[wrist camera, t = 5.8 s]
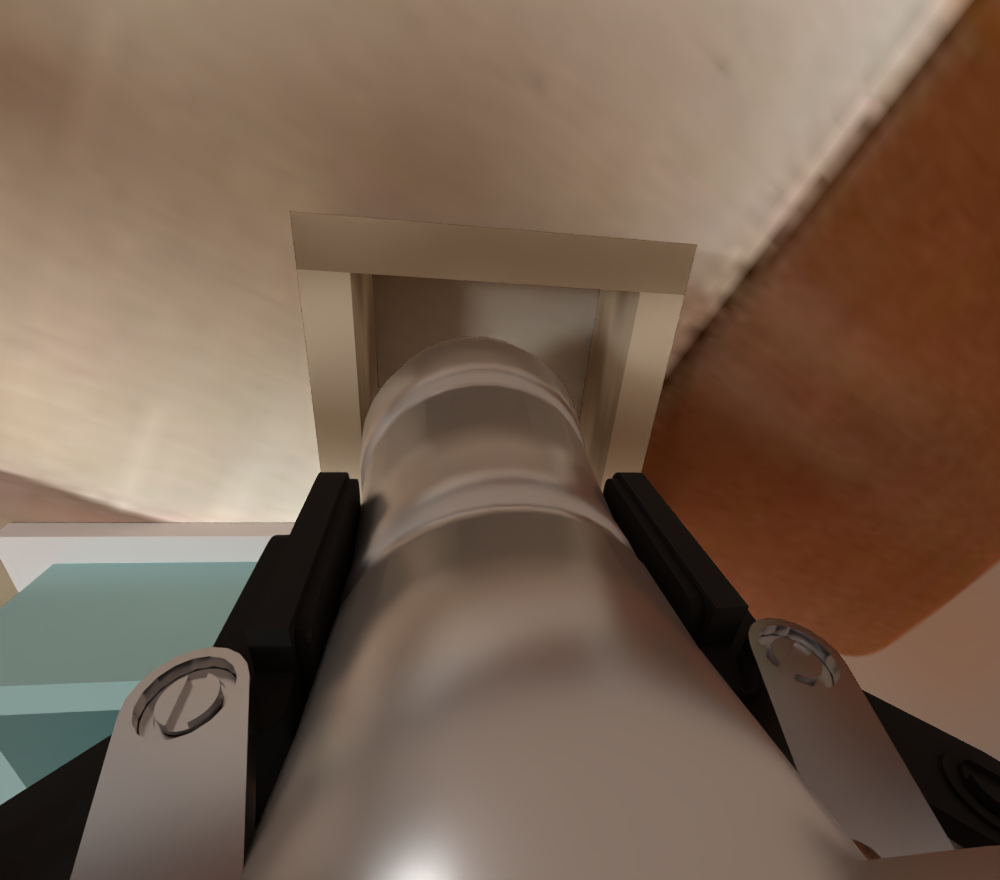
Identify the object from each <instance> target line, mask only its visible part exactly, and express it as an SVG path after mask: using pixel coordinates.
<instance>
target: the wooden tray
mask: <svg viewBox="0 0 1000 880" xmlns="http://www.w3.org/2000/svg"><path fill="white" fill-rule="evenodd" d="M290 218H291V226H292V234H293V243H294V251H295V259H296V268H297V276H298V284H299V293H300V301H301V310H302V318H303V326H304V335H305V343H306V351H307V360H308V368H309V376H310V385H311V393H312V402H313V410H314V418H315V427H316V435H317V443H318V452H319V460H320V468H321V472H348V474H349V477H350V479H358V481H359V489H360V501H361V498H362V488H361V474H360V455H361V442H362V435H363V429H364V423H365V419H366V416H367V414H368V411H369V409H370V406H371V404H372V401H373V400H374V398H375V397H376V395H377V394H378V392H379V391H378V371H377V350H376V330H375V310H374V290H373V274H376V275H391V276H406V277H421V278H436V279H451V280H466V281H481V282H496V283H511V284H526V285H541V286H556V287H571V288H586V289H600V295H599V301H598V307H597V313H596V319H595V325H594V331H593V337H592V343H591V350H590V356H589V362H588V368H587V374H586V380H585V386H584V392H583V398H582V404H581V411H580V417H579V422H580V426H581V430H582V434H583V438H584V442H585V449H586V455H587V457H588V460H589V462H590V464H591V467H592V469H593V472H594V474H595V476H596V479H597V481H598V484H599V486H600V488H601V491H602V493H603V490H604V485H605V482H606V480H607V479H608V478H612V477H613V475H614V474H615V473H616V472H640V473H641V471H642V467H643V463H644V459H645V455H646V451H647V447H648V443H649V439H650V435H651V431H652V426H653V422H654V418H655V414H656V410H657V406H658V402H659V398H660V394H661V390H662V386H663V381H664V377H665V373H666V369H667V365H668V361H669V357H670V353H671V349H672V345H673V341H674V336H675V332H676V328H677V324H678V320H679V316H680V312H681V308H682V304H683V300H684V296H685V292H686V287H687V283H688V279H689V275H690V271H691V267H692V263H693V259H694V255H695V251H696V247H697V245H696V244H684V243H672V242H660V241H647V240H635V239H623V238H611V237H599V236H586V235H574V234H562V233H550V232H538V231H525V230H513V229H501V228H489V227H476V226H464V225H452V224H440V223H428V222H415V221H403V220H391V219H379V218H367V217H354V216H342V215H330V214H318V213H305V212H293V211H290Z"/></svg>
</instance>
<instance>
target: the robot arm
mask: <svg viewBox="0 0 1000 880" xmlns="http://www.w3.org/2000/svg"><path fill="white" fill-rule="evenodd" d="M603 495H604V498H605V500H606V503H607V505H608V507H609V510H610V512H611V514H612V517H613V519H614V520H615V522H616V523H617V525H618V526H619V528H620V529H621V531H622V532H623V534H624V535H625V537H626V538H627V540H628V541H629V543H630V545H631V547H632V549H633V551H634V552H635V554H636V556H637V558H638V559H639V560H640V561H641V562H642V563H643V564H644V566H645V567H646V569H647V570H648V572H649V573H650V575H651V576H652V578H653V579H654V581H655V582H656V584H657V585H658V587H659V588H660V590H661V591H662V593H663V594H664V596H665V598H666V599H667V601H668V602H669V604H670V605H671V607H672V608H673V610H674V611H675V613H676V614H677V616H678V617H679V619H680V620H681V622H682V623H683V625H684V626H685V628H686V629H687V631H688V632H689V634H690V636H691V637H692V639H693V640H694V642H695V643H696V645H697V646H698V647H699V649H700V650H701V651H702V652H703V654H704V655H705V656H706V657H707V659H708V660H709V661H710V662H711V664H712V665H713V666H714V667H715V669H716V670H717V671H718V673H719V674H720V675H721V676H722V678H723V679H724V680H725V681H726V683H727V684H728V685H729V686H730V688H731V689H732V690H733V691H734V693H735V694H736V695H737V696H738V698H739V699H740V700H741V701H742V703H743V704H744V705H745V706H746V708H747V709H748V710H749V711H750V713H751V714H752V715H753V716H754V718H755V719H756V720H757V722H758V723H759V724H760V725H761V727H762V728H763V729H764V730H765V732H766V733H767V734H768V735H769V737H770V738H771V739H772V740H773V742H774V743H775V744H776V745H777V747H778V748H779V749H780V750H781V752H782V753H783V754H784V755H785V757H786V758H787V759H788V760H789V762H790V763H791V764H792V765H793V767H794V768H795V769H796V770H797V772H798V773H799V774H800V776H801V777H802V778H803V779H804V781H805V782H806V783H807V784H808V786H809V787H810V788H811V789H812V791H813V792H814V793H815V794H816V796H817V797H818V798H819V799H820V801H821V802H822V803H823V804H824V806H825V807H826V808H827V809H828V811H829V812H830V813H831V814H832V816H833V817H834V818H835V819H836V821H837V822H838V823H839V825H840V826H841V827H842V828H843V830H844V831H845V832H846V833H847V835H848V836H849V837H850V838H851V840H852V841H853V842H854V843H855V845H856V846H857V847H858V848H859V850H860V851H861V852H862V853H863V855H864V856H865V857H866V858H867V861H860V862H858V880H1000V761H998V760H996V759H995V758H993V757H991V756H989V755H988V754H986V753H984V752H983V751H981V750H979V749H977V748H975V747H973V746H971V745H969V744H967V743H965V742H963V741H961V740H959V739H957V738H955V737H953V736H951V735H949V734H947V733H945V732H943V731H941V730H940V729H938V728H936V727H934V726H932V725H930V724H928V723H926V722H924V721H922V720H920V719H918V718H916V717H914V716H912V715H910V714H908V713H906V712H904V711H902V710H901V709H899V708H897V707H895V706H893V705H891V704H889V703H887V702H885V701H883V700H881V699H879V698H877V697H875V696H873V695H871V694H869V693H867V692H865V691H863V690H862V689H861V688H860V686H859V684H858V683H857V681H856V679H855V678H854V676H853V674H852V672H851V671H850V669H849V667H848V665H847V664H846V663H845V661H844V660H843V659H842V657H841V656H840V654H839V653H838V652H837V651H836V650H835V649H834V648H833V647H832V646H831V645H830V644H828V643H827V642H826V641H825V640H824V639H822V638H821V637H819V636H818V635H816V634H815V633H814V632H812V631H811V630H809V629H806V628H804V627H802V626H800V625H798V624H796V623H793V622H790V621H786V620H783V619H776V618H765V619H760V620H757V621H756V620H755V619H754V618H753V616H752V615H751V614H750V612H749V611H748V610H747V609H748V607H749V606H748V605H747V604H746V602H745V601H744V600H743V599H742V597H741V596H740V595H739V594H738V592H737V591H736V590H735V589H734V587H733V586H732V585H731V584H730V582H729V581H728V580H727V579H726V577H725V576H724V575H723V574H722V572H721V571H720V570H719V569H718V567H717V566H716V565H715V564H714V562H713V561H712V560H711V559H710V557H709V556H708V555H707V554H706V552H705V551H704V550H703V549H702V547H701V546H700V545H699V544H698V542H697V541H696V540H695V539H694V537H693V536H692V535H691V534H690V532H689V531H688V530H687V529H686V527H685V526H684V525H683V524H682V522H681V521H680V520H679V519H678V517H677V516H676V515H675V514H674V512H673V511H672V510H671V509H670V507H669V506H668V505H667V504H666V502H665V501H664V500H663V499H662V497H661V496H660V495H659V494H658V492H657V491H656V490H655V489H654V487H653V486H652V485H651V484H650V482H649V481H648V480H647V479H646V477H645V476H644V475H643V474H642V473H640V472H616V473H615V474H614V475H613V477H612V478H608V479H607V480H606V482H605V485H604V490H603ZM360 509H361V501H360V489H359V481H358V479H350V477H349V474H348V472H320V473H319V474H318V476H317V478H316V480H315V482H314V484H313V486H312V488H311V490H310V493H309V495H308V497H307V499H306V501H305V503H304V505H303V507H302V509H301V512H300V514H299V516H298V518H297V520H296V522H295V524H294V526H293V528H292V531H291V533H290V535H275V536H273V537H271V539H270V540H269V542H268V543H267V545H266V547H265V549H264V551H263V553H262V555H261V556H260V558H259V560H258V562H257V564H256V566H255V568H254V570H253V571H252V573H251V575H250V577H249V579H248V581H247V583H246V585H245V587H244V588H243V590H242V592H241V594H240V596H239V598H238V600H237V602H236V604H235V605H234V607H233V609H232V611H231V613H230V615H229V617H228V619H227V621H226V622H225V624H224V626H223V628H222V630H221V632H220V634H219V636H218V637H217V639H216V641H215V643H214V645H213V647H209V648H203V649H198V650H193V651H190V652H188V653H185V654H182V655H180V656H177V657H175V658H173V659H171V660H169V661H168V662H166V663H164V664H163V665H161V666H159V667H158V668H156V669H155V670H153V671H152V672H151V673H150V674H149V675H147V676H146V677H145V678H144V679H143V680H142V681H140V682H139V683H138V684H137V686H136V687H135V688H134V689H133V690H132V692H131V693H130V694H129V695H128V697H127V698H126V699H125V701H124V703H123V705H122V707H121V709H120V712H119V714H118V716H117V719H116V722H115V726H114V729H113V733H112V734H111V735H110V736H108V737H107V738H105V739H103V740H102V741H100V742H99V743H97V744H96V745H94V746H92V747H91V748H89V749H88V750H86V751H85V752H83V753H81V754H80V755H78V756H77V757H75V758H73V759H72V760H70V761H69V762H67V763H66V764H64V765H62V766H61V767H59V768H58V769H56V770H55V771H53V772H51V773H50V774H48V775H47V776H45V777H44V778H42V779H40V780H39V781H37V782H36V783H34V784H33V785H31V786H29V787H28V788H26V789H25V790H23V791H22V792H20V793H18V794H17V795H15V796H14V797H12V798H10V799H9V800H7V801H6V802H4V803H3V804H1V805H0V880H239V879H240V876H241V874H242V872H243V868H244V863H245V859H246V856H247V853H248V851H249V848H250V845H251V842H252V839H253V836H254V834H255V830H256V828H257V825H258V823H259V820H260V818H261V816H262V813H263V811H264V809H265V806H266V804H267V802H268V799H269V797H270V794H271V792H272V790H273V787H274V785H275V783H276V780H277V778H278V775H279V773H280V771H281V768H282V766H283V764H284V761H285V759H286V756H287V754H288V752H289V749H290V747H291V745H292V742H293V740H294V737H295V735H296V733H297V730H298V727H299V724H300V721H301V718H302V715H303V712H304V708H305V705H306V702H307V699H308V696H309V693H310V690H311V687H312V684H313V681H314V678H315V675H316V672H317V669H318V666H319V663H320V660H321V657H322V654H323V651H324V648H325V645H326V641H327V638H328V635H329V632H330V629H331V627H332V625H333V623H334V620H335V618H336V616H337V614H338V609H339V603H340V599H341V596H342V593H343V590H344V587H345V584H346V581H347V578H348V575H349V572H350V569H351V566H352V563H353V556H354V549H355V543H356V536H357V529H358V523H359V516H360Z"/></svg>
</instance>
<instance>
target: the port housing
mask: <svg viewBox="0 0 1000 880" xmlns="http://www.w3.org/2000/svg"><path fill="white" fill-rule="evenodd" d="M294 524H295V523H9V524H8V525H6V526H5V527H3V528H2V529H0V559H1V561H2V563H3V565H4V566H5V568H6V570H7V572H8V574H9V576H10V578H11V579H12V581H13V583H14V585H15V587H16V589H17V591H18V592H19V593H18V594H17V595H16V596H15V597H13V598H12V599H11V600H10V601H9V602H7V603H6V604H5V605H4V606H3V607H1V608H0V805H1V804H3V803H4V802H6V801H7V800H9V799H10V798H12V797H14V796H15V795H17V794H18V793H20V792H22V791H23V790H25V789H26V788H28V787H29V786H31V785H33V784H34V783H36V782H37V781H39V780H40V779H42V778H44V777H45V776H47V775H48V774H50V773H51V772H53V771H55V770H56V769H58V768H59V767H61V766H62V765H64V764H66V763H67V762H69V761H70V760H72V759H73V758H75V757H77V756H78V755H80V754H81V753H83V752H85V751H86V750H88V749H89V748H91V747H92V746H94V745H96V744H97V743H99V742H100V741H102V740H103V739H105V738H107V737H108V736H110V735H111V734H112V733H113V729H114V726H115V722H116V719H117V716H118V714H119V712H120V709H121V707H122V705H123V703H124V701H125V699H126V698H127V697H128V695H129V694H130V693H131V692H132V690H133V689H134V688H135V687H136V686H137V684H138V683H139V682H140V681H142V680H143V679H144V678H145V677H146V676H147V675H149V674H150V673H151V672H152V671H153V670H155V669H156V668H158V667H159V666H161V665H163V664H164V663H166V662H168V661H169V660H171V659H173V658H175V657H177V656H180V655H182V654H185V653H188V652H190V651H193V650H198V649H203V648H209V647H213V645H214V643H215V641H216V639H217V637H218V636H219V634H220V632H221V630H222V628H223V626H224V624H225V622H226V621H227V619H228V617H229V615H230V613H231V611H232V609H233V607H234V605H235V604H236V602H237V600H238V598H239V596H240V594H241V592H242V590H243V588H244V587H245V585H246V583H247V581H248V579H249V577H250V575H251V573H252V571H253V570H254V568H255V566H256V564H257V562H258V560H259V558H260V556H261V555H262V553H263V551H264V549H265V547H266V545H267V543H268V542H269V540H270V539H271V537H273V536H275V535H290V533H291V531H292V528H293V526H294Z"/></svg>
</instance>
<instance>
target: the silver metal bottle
mask: <svg viewBox="0 0 1000 880" xmlns="http://www.w3.org/2000/svg"><path fill="white" fill-rule="evenodd" d="M360 474H361V488H362V498H361V509H360V516H359V523H358V529H357V536H356V543H355V549H354V556H353V563H352V566H351V569H350V572H349V575H348V578H347V581H346V584H345V587H344V590H343V593H342V596H341V599H340V603H339V609H338V614H337V616H336V618H335V620H334V623H333V625H332V627H331V629H330V632H329V635H328V638H327V641H326V645H325V648H324V651H323V654H322V657H321V660H320V663H319V666H318V669H317V672H316V675H315V678H314V681H313V684H312V687H311V690H310V693H309V696H308V699H307V702H306V705H305V708H304V712H303V715H302V718H301V721H300V724H299V727H298V730H297V733H296V735H295V737H294V740H293V742H292V745H291V747H290V749H289V752H288V754H287V756H286V759H285V761H284V764H283V766H282V768H281V771H280V773H279V775H278V778H277V780H276V783H275V785H274V787H273V790H272V792H271V794H270V797H269V799H268V802H267V804H266V806H265V809H264V811H263V813H262V816H261V818H260V820H259V823H258V825H257V828H256V830H255V834H254V836H253V839H252V842H251V845H250V848H249V851H248V853H247V856H246V859H245V863H244V868H243V872H242V874H241V876H240V879H239V880H858V862H860V861H867V858H866V857H865V856H864V855H863V853H862V852H861V851H860V850H859V848H858V847H857V846H856V845H855V843H854V842H853V841H852V840H851V838H850V837H849V836H848V835H847V833H846V832H845V831H844V830H843V828H842V827H841V826H840V825H839V823H838V822H837V821H836V819H835V818H834V817H833V816H832V814H831V813H830V812H829V811H828V809H827V808H826V807H825V806H824V804H823V803H822V802H821V801H820V799H819V798H818V797H817V796H816V794H815V793H814V792H813V791H812V789H811V788H810V787H809V786H808V784H807V783H806V782H805V781H804V779H803V778H802V777H801V776H800V774H799V773H798V772H797V770H796V769H795V768H794V767H793V765H792V764H791V763H790V762H789V760H788V759H787V758H786V757H785V755H784V754H783V753H782V752H781V750H780V749H779V748H778V747H777V745H776V744H775V743H774V742H773V740H772V739H771V738H770V737H769V735H768V734H767V733H766V732H765V730H764V729H763V728H762V727H761V725H760V724H759V723H758V722H757V720H756V719H755V718H754V716H753V715H752V714H751V713H750V711H749V710H748V709H747V708H746V706H745V705H744V704H743V703H742V701H741V700H740V699H739V698H738V696H737V695H736V694H735V693H734V691H733V690H732V689H731V688H730V686H729V685H728V684H727V683H726V681H725V680H724V679H723V678H722V676H721V675H720V674H719V673H718V671H717V670H716V669H715V667H714V666H713V665H712V664H711V662H710V661H709V660H708V659H707V657H706V656H705V655H704V654H703V652H702V651H701V650H700V649H699V647H698V646H697V645H696V643H695V642H694V640H693V639H692V637H691V636H690V634H689V632H688V631H687V629H686V628H685V626H684V625H683V623H682V622H681V620H680V619H679V617H678V616H677V614H676V613H675V611H674V610H673V608H672V607H671V605H670V604H669V602H668V601H667V599H666V598H665V596H664V594H663V593H662V591H661V590H660V588H659V587H658V585H657V584H656V582H655V581H654V579H653V578H652V576H651V575H650V573H649V572H648V570H647V569H646V567H645V566H644V564H643V563H642V562H641V561H640V560H639V559H638V558H637V556H636V554H635V552H634V551H633V549H632V547H631V545H630V543H629V541H628V540H627V538H626V537H625V535H624V534H623V532H622V531H621V529H620V528H619V526H618V525H617V523H616V522H615V520H614V519H613V517H612V514H611V512H610V510H609V507H608V505H607V503H606V500H605V498H604V495H603V493H602V491H601V488H600V486H599V484H598V481H597V479H596V476H595V474H594V472H593V469H592V467H591V464H590V462H589V460H588V457H587V455H586V449H585V442H584V438H583V434H582V430H581V426H580V422H579V419H578V416H577V413H576V410H575V407H574V405H573V402H572V400H571V398H570V396H569V394H568V392H567V390H566V388H565V386H564V384H563V383H562V381H561V380H560V379H559V378H558V377H557V375H556V374H555V373H554V372H553V371H552V369H551V368H550V367H548V366H547V365H546V364H544V363H543V362H542V361H540V360H539V359H538V358H536V357H535V356H534V355H532V354H530V353H528V352H526V351H524V350H522V349H520V348H518V347H516V346H514V345H512V344H510V343H507V342H505V341H502V340H497V339H493V338H488V337H470V336H465V337H459V338H454V339H448V340H444V341H442V342H439V343H437V344H434V345H432V346H429V347H427V348H425V349H424V350H422V351H420V352H419V353H417V354H416V355H414V356H413V357H411V358H410V359H409V360H408V361H407V362H406V363H405V364H404V365H402V366H401V367H400V368H399V369H398V370H397V371H396V372H395V373H394V374H393V375H392V376H391V377H390V378H389V379H388V380H387V381H386V382H385V383H384V385H383V386H382V388H381V389H380V391H379V392H378V394H377V395H376V397H375V398H374V400H373V401H372V404H371V406H370V409H369V411H368V414H367V416H366V419H365V423H364V429H363V435H362V442H361V455H360Z"/></svg>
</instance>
